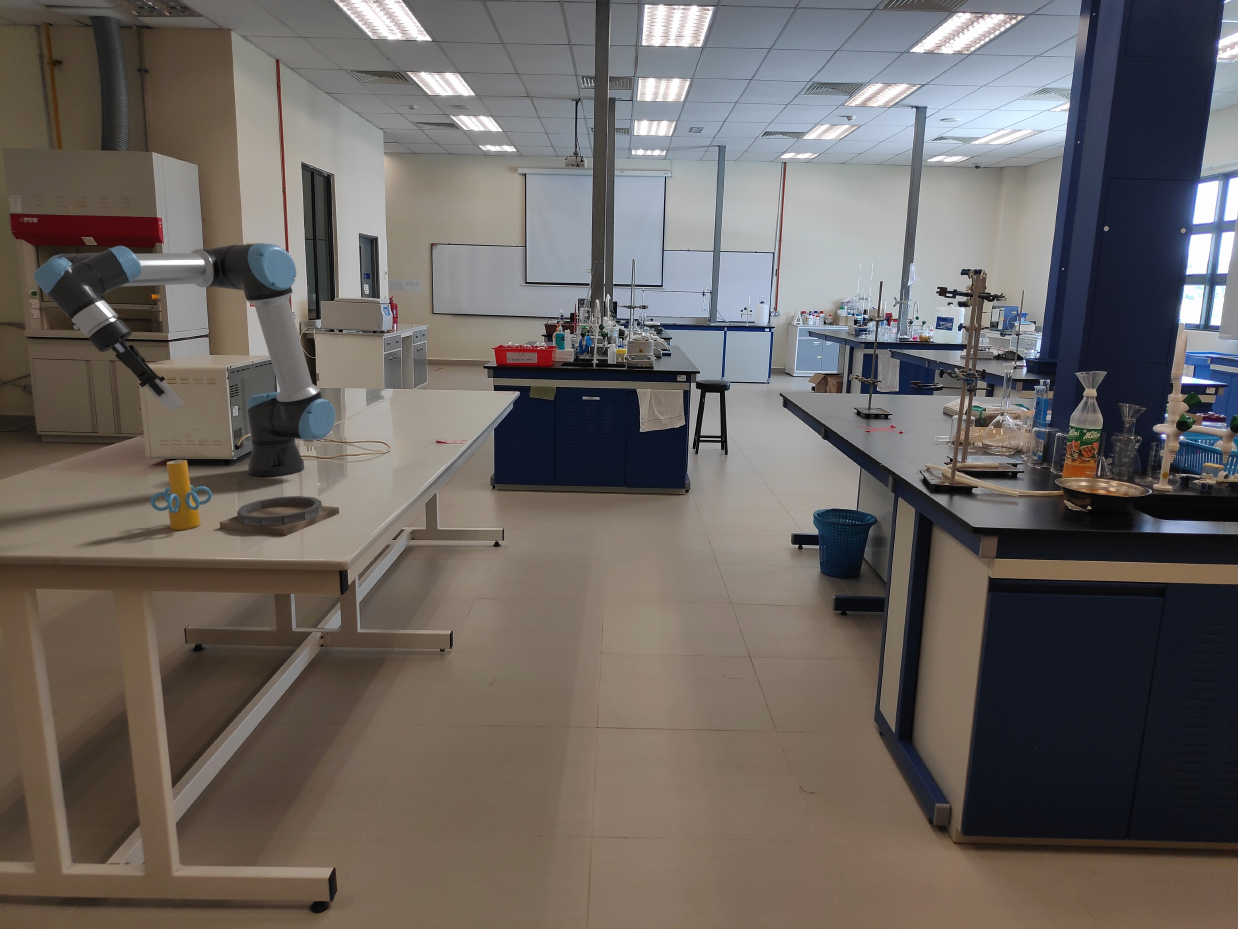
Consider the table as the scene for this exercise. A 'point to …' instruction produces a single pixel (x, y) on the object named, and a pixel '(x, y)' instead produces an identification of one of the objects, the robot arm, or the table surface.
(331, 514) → the hub board
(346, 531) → the table surface
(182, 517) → the cylinder
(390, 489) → the table surface
